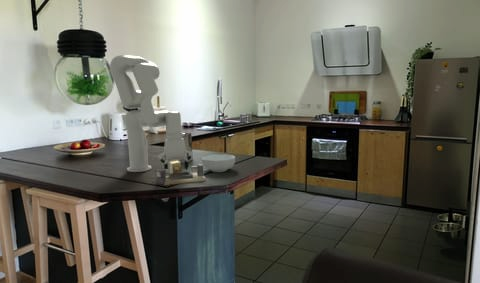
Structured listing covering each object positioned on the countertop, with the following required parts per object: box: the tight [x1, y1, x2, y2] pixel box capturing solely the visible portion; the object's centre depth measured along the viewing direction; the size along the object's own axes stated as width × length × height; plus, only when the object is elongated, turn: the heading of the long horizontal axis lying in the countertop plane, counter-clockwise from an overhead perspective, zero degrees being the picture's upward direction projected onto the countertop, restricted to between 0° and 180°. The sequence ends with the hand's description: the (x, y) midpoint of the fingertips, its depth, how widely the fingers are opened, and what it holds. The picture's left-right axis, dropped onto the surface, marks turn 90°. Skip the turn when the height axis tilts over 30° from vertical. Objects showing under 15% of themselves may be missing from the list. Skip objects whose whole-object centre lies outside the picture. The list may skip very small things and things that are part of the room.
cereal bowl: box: [201, 154, 236, 173], centre depth 187 cm, size 17×17×7 cm
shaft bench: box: [155, 163, 207, 186], centre depth 170 cm, size 12×22×6 cm, turn 111°
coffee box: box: [177, 132, 194, 164], centre depth 211 cm, size 9×6×16 cm
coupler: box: [169, 160, 183, 174], centre depth 181 cm, size 4×8×6 cm, turn 21°
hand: (176, 170), depth 181 cm, fingers open, 9 cm apart
